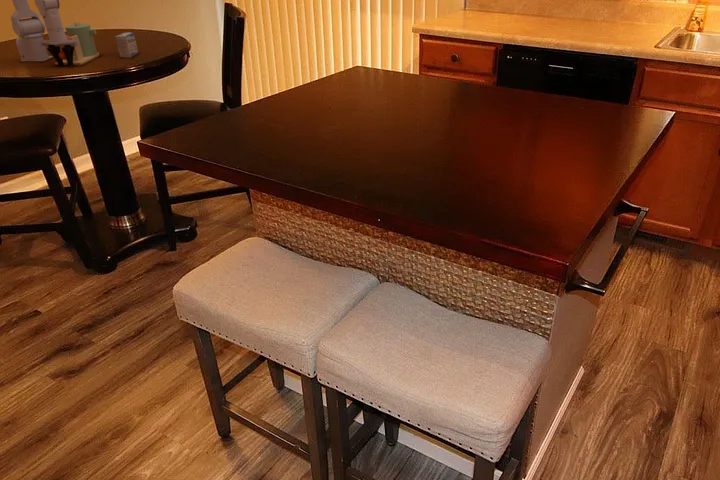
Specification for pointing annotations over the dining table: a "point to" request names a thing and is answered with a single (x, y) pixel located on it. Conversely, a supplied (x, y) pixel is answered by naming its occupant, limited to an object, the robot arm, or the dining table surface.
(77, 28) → the kettle
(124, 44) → the medicine box
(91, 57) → the switch bracket
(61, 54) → the switch
